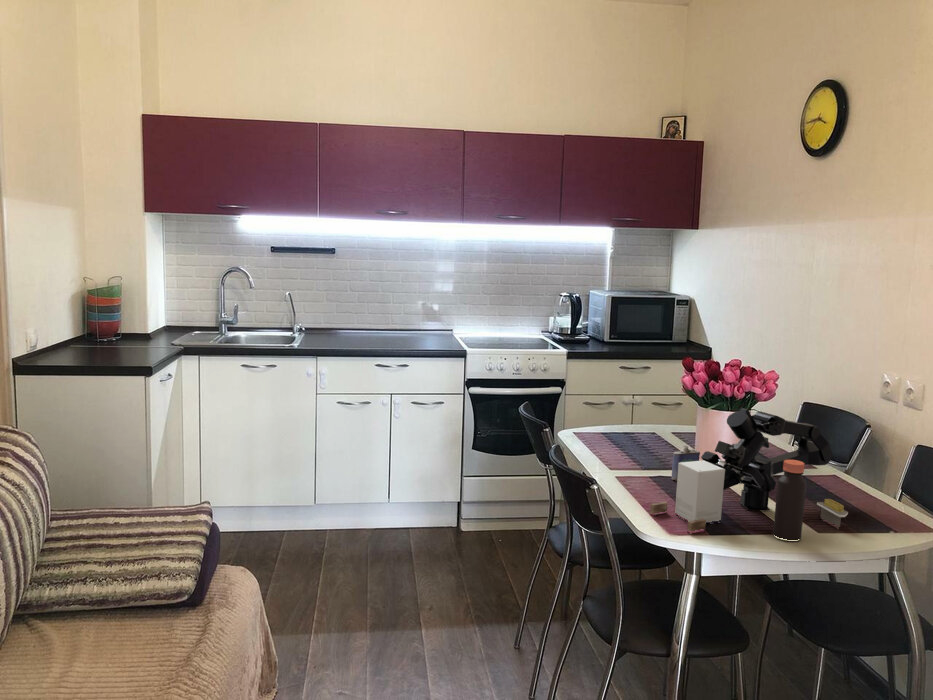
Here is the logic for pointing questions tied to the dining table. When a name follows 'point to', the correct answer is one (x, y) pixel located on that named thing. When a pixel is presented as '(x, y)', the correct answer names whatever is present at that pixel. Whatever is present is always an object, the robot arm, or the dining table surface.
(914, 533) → the dining table surface
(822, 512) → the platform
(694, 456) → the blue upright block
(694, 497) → the supplement box
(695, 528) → the walnut slot
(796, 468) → the bottle
